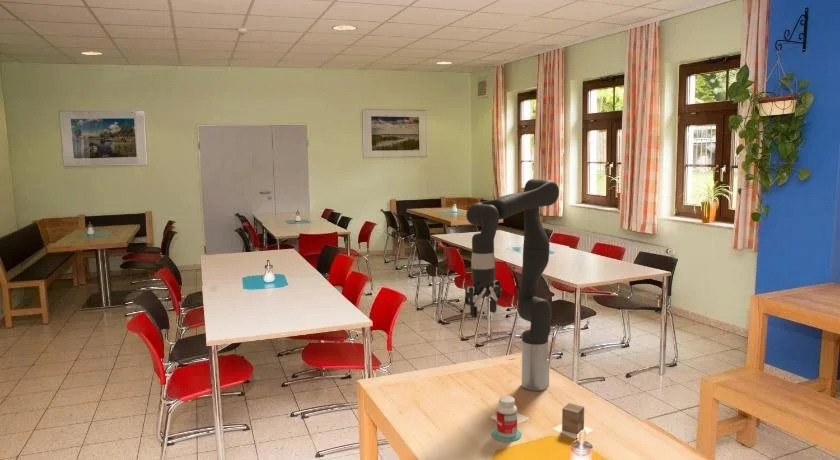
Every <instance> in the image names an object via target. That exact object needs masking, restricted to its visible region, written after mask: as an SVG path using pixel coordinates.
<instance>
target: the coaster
mask: <svg viewBox="0 0 840 460" xmlns="http://www.w3.org/2000/svg"><path fill="white" fill-rule="evenodd" d="M491 436H492V438H493V439H495V440H498V441H499V442H500V441H501V442H504V443H506V442H507V443H511V442H517V441H519V440H520V439H521V438H522V432H521V431H520V430H519V429H517V434H516V435H515V436H514V437H510V438H506V437H501V436H500V435H498V433H497V427H496V428H494V429H493V430H492V431H491Z"/></svg>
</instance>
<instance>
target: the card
mask: <svg viewBox="0 0 840 460" xmlns="http://www.w3.org/2000/svg"><path fill="white" fill-rule="evenodd" d="M552 430H554V431H556V432H557V433H558V432H559V433H560V434H563V435H565V436H568V437H569V438H572V439H573V440H577V439H576V438H577V434H574V433H570V432H567V431H563V430H562V423H560V424H558V425H556V426H555V427H552ZM583 430H585V431H586V435H587V434H589V433H592V432H593V431H594V429H593V428H591V427H589V426H586V425H584V429H583Z"/></svg>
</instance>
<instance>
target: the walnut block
mask: <svg viewBox="0 0 840 460" xmlns="http://www.w3.org/2000/svg"><path fill="white" fill-rule="evenodd" d="M561 413H562V417H561V424H562V430H563V431H567V432H570V433H574V434H578V433H579V432H580V431H581V430H583V429H584V426H585V406H582V405H579V404H575V403H570V402H568V403H567V404H566V405H565V406H563V407H562V412H561Z"/></svg>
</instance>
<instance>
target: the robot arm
mask: <svg viewBox="0 0 840 460" xmlns="http://www.w3.org/2000/svg"><path fill="white" fill-rule="evenodd" d="M523 188H524V189H523V191H521V192H515V193H509V194H506V195H502V196H500V197H497V198H495V199H492V200H485V201H480V202H476V203H472V205H470V206H469V207H468V208H467V210H466V214H465V215H466V216H465V217H466V220H467V222H468V223H469V224H471V225H473V226H477V227H481V229H480V230H481V231H480V232H477V233H475V234H473V235H472V238H471V261H470V262H471V264H470V265H471V280H472V282H473V283H472V286H468V285H466V286H465V292H464V293H465V295H464V304H465V305H467V306H469V307H470V309H469V311H470V312H469V314H470V316H471V318H474V319H475V318H478V304H479V302H480V301H481V300H482V299H483V298H485V297H487V298H488V299H489V312H490V313H493V314H494V313H496V312H497V303H498V300H499V299H501V298H502V284H501V283H502V282H501V280H497V279H496V274H495V273H496V256H495V237H496V233H497V229H498V225H499V221H500V220H504V219H507V218H509V217H511V216H512V217H513V216H514V215H516V214H519V213H522V212H523V213H524V214H523V216H524V217H523V218H524V220H523V221H524V222H523V223H524V227H523V228H524V229H523V231H524V232H523V233H524V234H523V242H522V243H523V245H522V246H523V247H522V267H521V269H522V270H521V280H520V282H521V283H520V287H519V295H518V302H517V313H518V316H519V317H520V319H522V320H524V321H527V322H529V323H530V329H526V330H524V331H523V332H522V334H521V387H522V388H523V389H526V390H528V391H534V392H537V391H538V392H540V391H544V390H546V389H547V388H548V386H550V360H549V359H548V357H549V356H548V353H549V352H548V351H549V337H550V334H551V328H552V327H551V326H552V324H551V323H552V307H551V304H550V302H549V301H548V300H547V299H546V298H545V299H544V298H541V297H538V294H537V293H538V283H539V281H540V278H541V276H542V275H543V273H544V271H545V270H546V268H547V266H548V264H549V260H550V241H549V237H548V235H547V232H546V231H545V229H544V227H543V224H542V221H541V217H540V207H550V206H552V205H554V204H555V203H556V202H557V201H558V199H559V196H560V189H559V186H558V184H557V183H556V182H555V181H553V180H551V179H537V178H532V179H528V180H527V182H526V183H525V185H524V187H523Z"/></svg>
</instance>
